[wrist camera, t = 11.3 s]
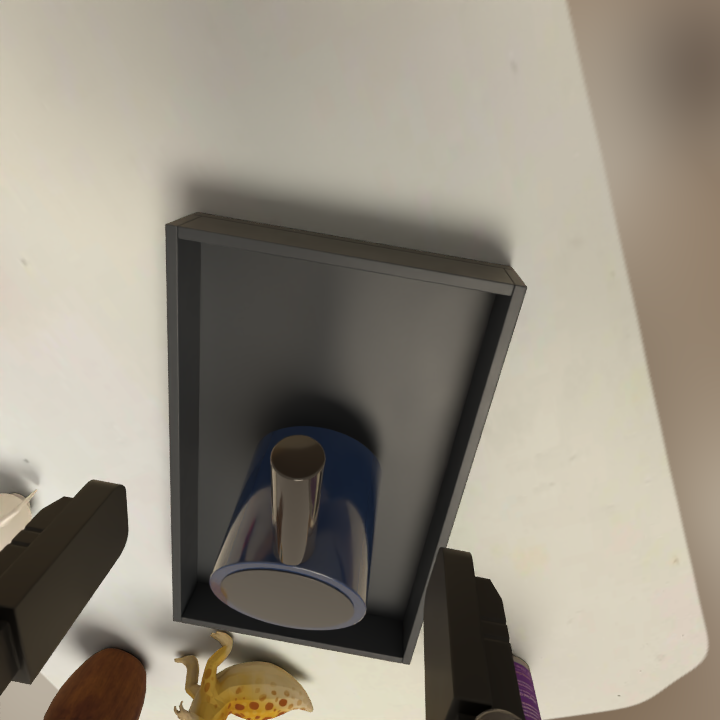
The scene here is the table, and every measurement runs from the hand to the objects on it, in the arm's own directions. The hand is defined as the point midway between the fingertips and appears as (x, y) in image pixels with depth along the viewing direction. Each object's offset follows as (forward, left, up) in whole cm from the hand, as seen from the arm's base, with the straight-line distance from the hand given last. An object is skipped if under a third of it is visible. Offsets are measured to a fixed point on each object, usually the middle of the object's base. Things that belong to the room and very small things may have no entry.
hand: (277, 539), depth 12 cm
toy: (+4, +33, -18) cm, 37 cm away
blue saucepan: (0, +6, -14) cm, 16 cm away
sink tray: (0, +10, -17) cm, 20 cm away
